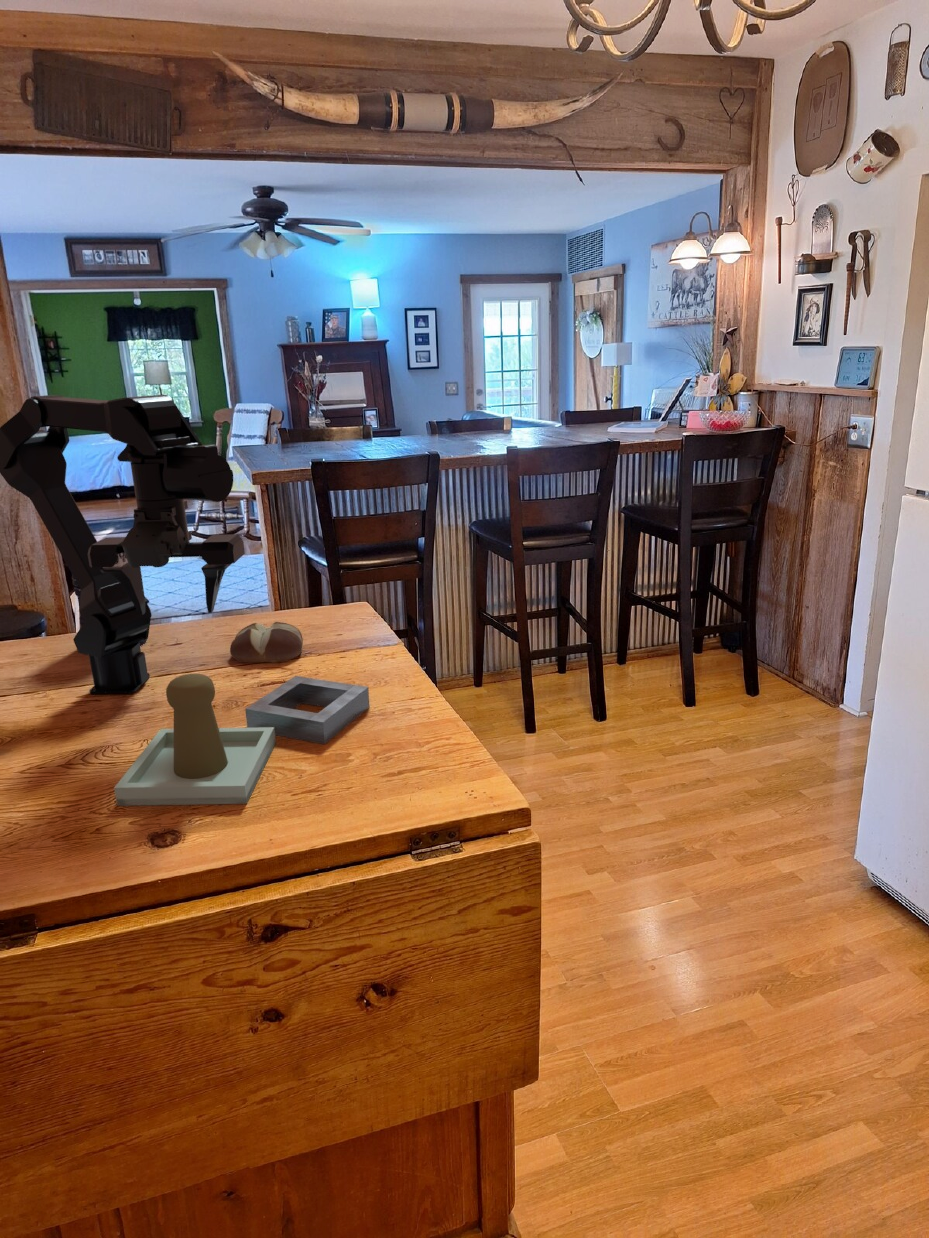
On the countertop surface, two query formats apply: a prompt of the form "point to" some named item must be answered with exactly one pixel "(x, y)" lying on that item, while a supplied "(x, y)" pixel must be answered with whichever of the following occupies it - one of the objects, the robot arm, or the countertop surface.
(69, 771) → the countertop surface
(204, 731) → the olive pepper mill
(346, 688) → the metal collar
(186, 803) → the green tray
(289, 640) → the bread
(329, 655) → the countertop surface
